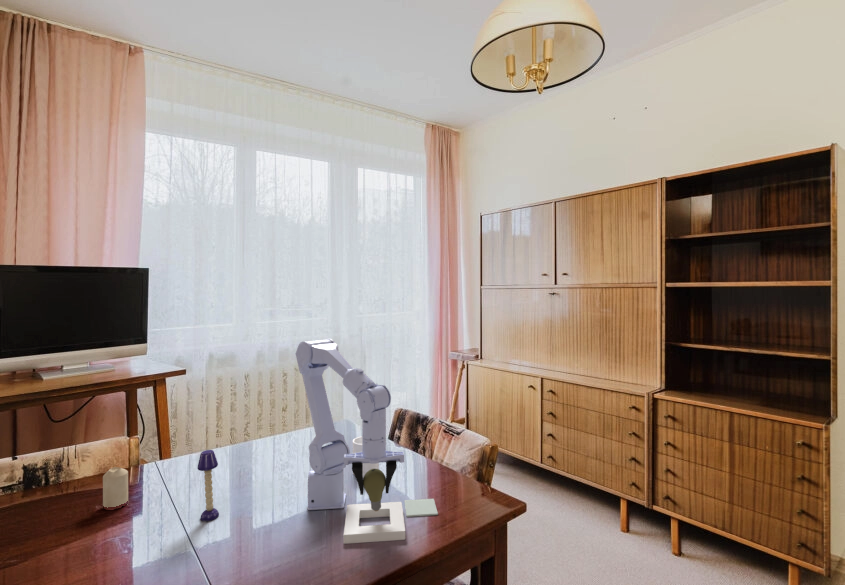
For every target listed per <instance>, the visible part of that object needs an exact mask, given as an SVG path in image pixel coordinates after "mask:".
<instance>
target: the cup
mask: <svg viewBox="0 0 845 585" xmlns="http://www.w3.org/2000/svg"><path fill="white" fill-rule="evenodd" d="M359 452H362V436H358V437H355V438H353V439H352V454H353V453H359ZM371 469H379V470H380V463H376V464H371V463H363V478H364V475H365V474H366V472H368V471H369V470H371ZM352 474H353V475H354V473H353V472H352Z"/></svg>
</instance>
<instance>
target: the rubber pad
mask: <svg viewBox="0 0 845 585" xmlns="http://www.w3.org/2000/svg"><path fill="white" fill-rule="evenodd" d="M404 508H405V515H406V518H412V517H427V516H439V513H438V510H437V506H436V502H435V498H423V499H422V498H421V499H420V498H419V499H406V500H405V499H404Z"/></svg>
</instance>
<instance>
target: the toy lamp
mask: <svg viewBox="0 0 845 585" xmlns="http://www.w3.org/2000/svg"><path fill="white" fill-rule="evenodd" d="M218 465H219V463H218V459H217V456H216V453H215V451H214V450H213V449H206V450H203V451H201V452H200V454H199V458H198V464H197V470H198V471H201V472H204V477H203V478H204V486H205V487H204V491H205V493H204V494H205V495H204V496H205V504H206V505H205V510H203V512H202V513H201V515H200V519H199V520H201V521H202V522H210V521H214V520H215V519H217V518H218V517H219V515H220V513H219V510H218V509H217V508H214V498H213V496H214V493H213V480H212V478H213V474H212V472H213V470H214V469H216V468H217V467H218Z"/></svg>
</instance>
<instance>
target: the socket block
mask: <svg viewBox="0 0 845 585" xmlns="http://www.w3.org/2000/svg"><path fill="white" fill-rule="evenodd" d="M382 517H383V518H385V517H389V524H388V523H387V524H377V525H375V524H373V525H360V521H361V519H370V518H371V519H372V518H382ZM404 517H405V516H404V510H403V503H402V501H391V502H390V501H388V502H381V508H380V509H379V510H378V511H374V510H373V509H371V502H370V503H355V504H353V503H352V504H347V505H346V513H345V521H344V528H343V545H345V544H360V543H375V542H389V541H404V540H406V526H405V525H406V524H405V518H404Z"/></svg>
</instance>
